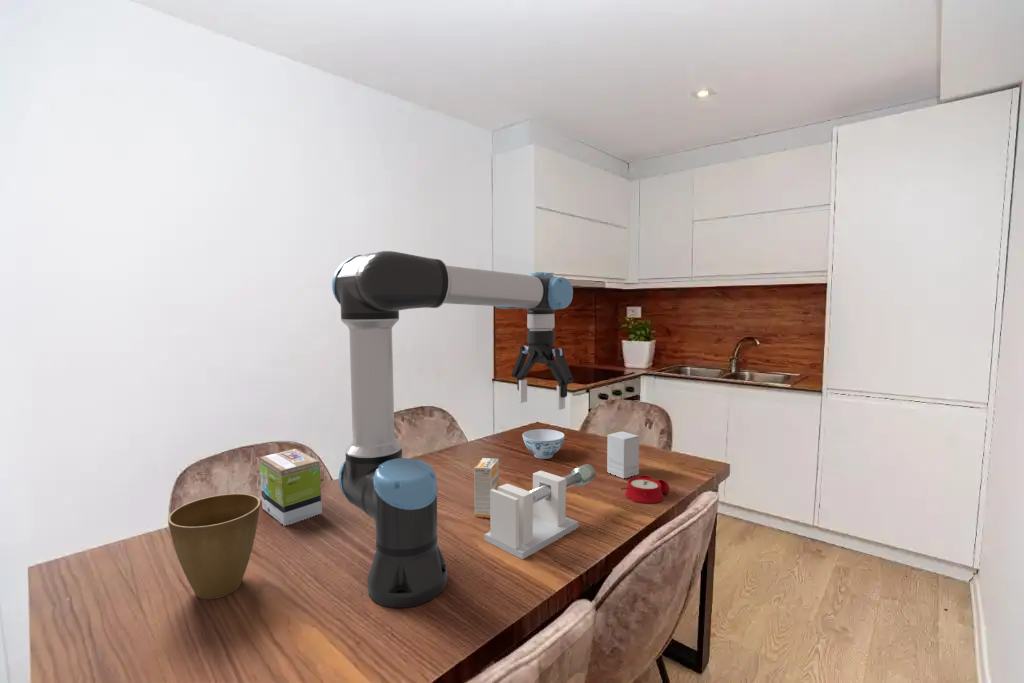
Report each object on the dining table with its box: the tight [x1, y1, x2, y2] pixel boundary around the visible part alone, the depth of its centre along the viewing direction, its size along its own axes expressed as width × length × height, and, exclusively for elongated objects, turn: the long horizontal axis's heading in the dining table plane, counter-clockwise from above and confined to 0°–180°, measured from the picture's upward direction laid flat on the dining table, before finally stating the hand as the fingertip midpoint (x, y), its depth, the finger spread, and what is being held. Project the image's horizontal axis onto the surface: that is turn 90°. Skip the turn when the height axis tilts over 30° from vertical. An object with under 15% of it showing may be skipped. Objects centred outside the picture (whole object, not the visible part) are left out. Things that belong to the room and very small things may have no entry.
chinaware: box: [522, 428, 566, 460], centre depth 171 cm, size 15×15×8 cm
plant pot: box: [167, 493, 261, 600], centre depth 92 cm, size 15×15×16 cm
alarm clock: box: [620, 474, 670, 504], centre depth 136 cm, size 10×6×15 cm
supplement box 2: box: [606, 430, 640, 479], centre depth 153 cm, size 7×7×13 cm
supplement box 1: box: [473, 457, 500, 519], centre depth 126 cm, size 8×5×13 cm, turn 168°
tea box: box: [258, 448, 323, 527], centre depth 126 cm, size 15×10×15 cm, turn 47°
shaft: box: [528, 463, 597, 504], centre depth 121 cm, size 23×5×5 cm, turn 136°
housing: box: [484, 470, 580, 560], centre depth 113 cm, size 20×12×12 cm, turn 136°
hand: (541, 405), depth 134 cm, fingers open, 13 cm apart
